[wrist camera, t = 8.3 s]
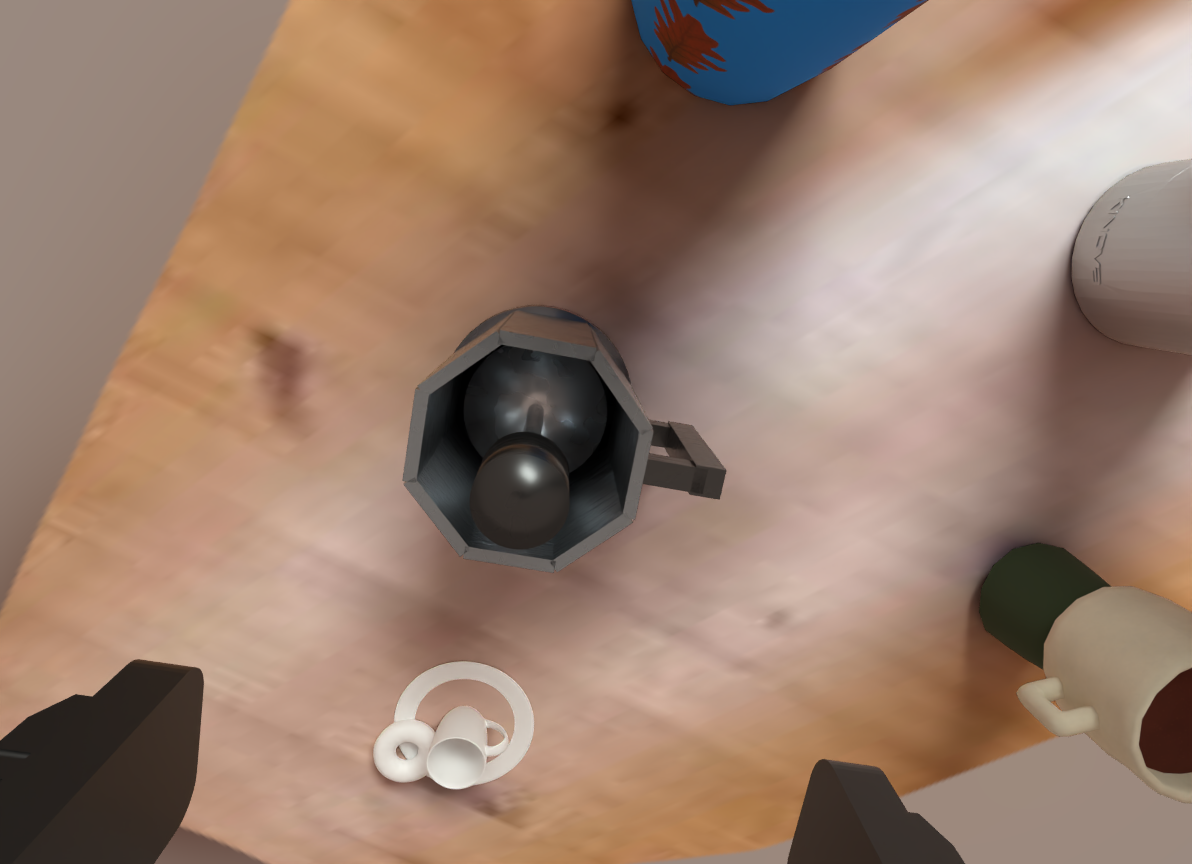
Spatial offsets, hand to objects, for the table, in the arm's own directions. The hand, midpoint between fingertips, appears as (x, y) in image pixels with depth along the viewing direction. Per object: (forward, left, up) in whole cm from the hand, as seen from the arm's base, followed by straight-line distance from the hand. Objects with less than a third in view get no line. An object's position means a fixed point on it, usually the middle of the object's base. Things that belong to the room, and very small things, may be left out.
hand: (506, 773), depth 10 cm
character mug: (-29, +7, -31) cm, 42 cm away
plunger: (0, +1, -28) cm, 28 cm away
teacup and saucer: (+4, +19, -31) cm, 36 cm away
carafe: (-1, +1, -30) cm, 30 cm away
